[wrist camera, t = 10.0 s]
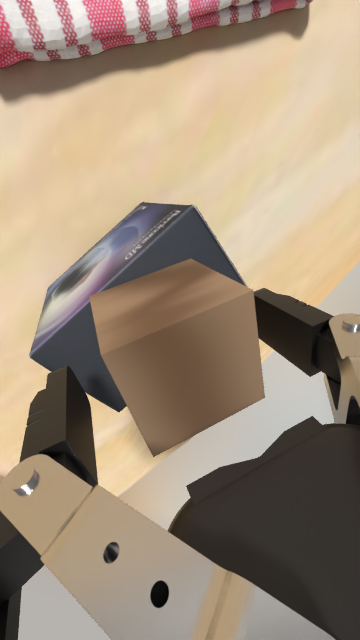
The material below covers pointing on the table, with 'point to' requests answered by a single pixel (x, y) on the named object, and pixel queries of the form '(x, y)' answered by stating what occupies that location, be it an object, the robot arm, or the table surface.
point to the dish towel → (113, 23)
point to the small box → (112, 270)
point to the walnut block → (180, 349)
